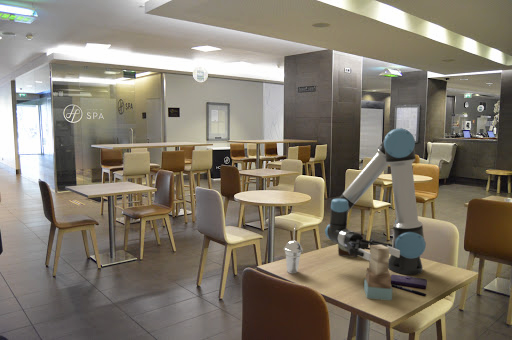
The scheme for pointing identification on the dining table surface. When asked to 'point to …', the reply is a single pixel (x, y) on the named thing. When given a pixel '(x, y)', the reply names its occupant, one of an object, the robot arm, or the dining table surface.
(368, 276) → the walnut block
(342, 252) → the food container
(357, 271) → the dining table surface
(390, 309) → the dining table surface
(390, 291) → the teal block
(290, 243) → the cup with straw
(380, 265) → the oak pillar
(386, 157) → the robot arm
